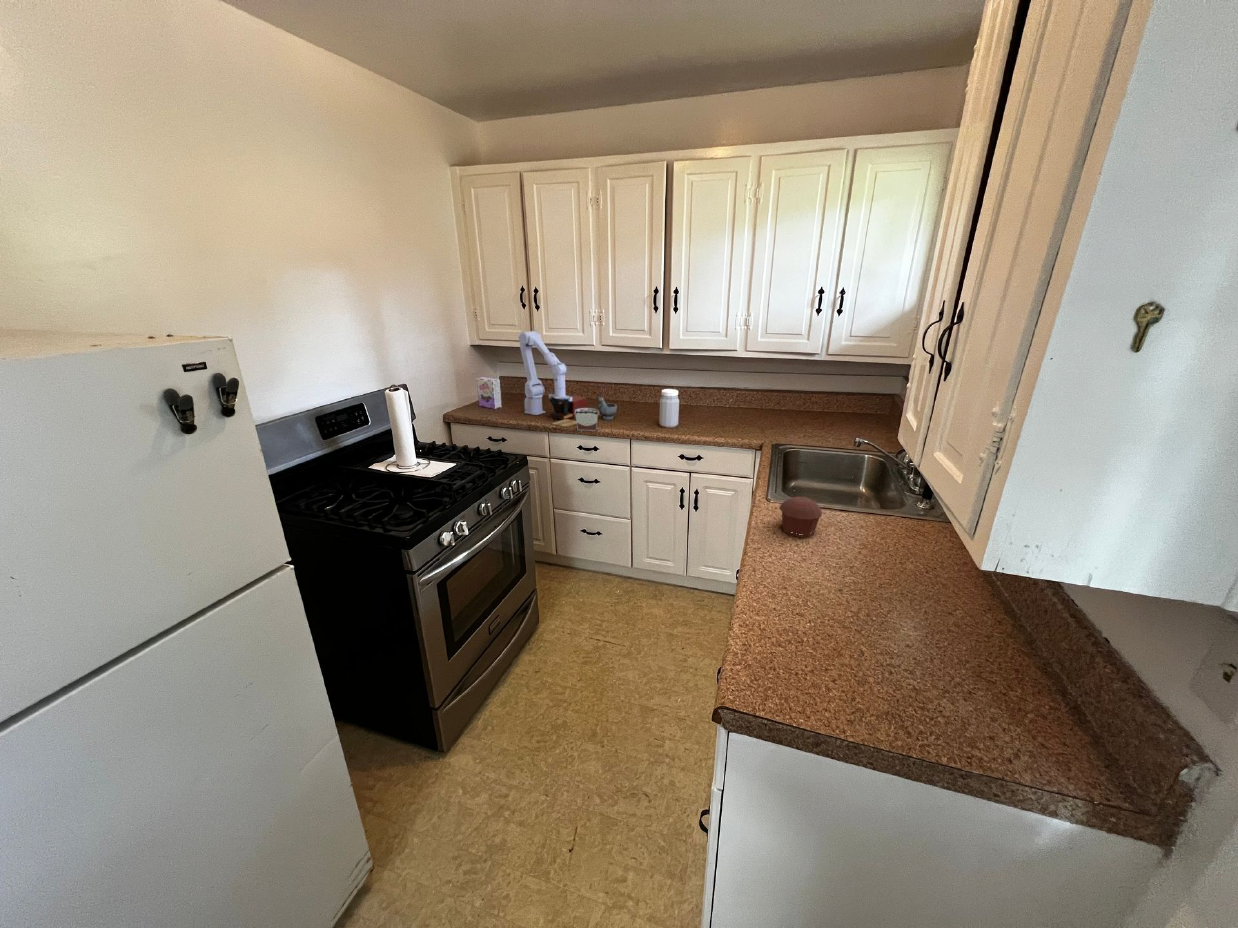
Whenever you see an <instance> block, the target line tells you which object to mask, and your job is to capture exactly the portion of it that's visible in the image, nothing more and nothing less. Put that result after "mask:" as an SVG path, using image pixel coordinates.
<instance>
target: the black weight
mask: <svg viewBox="0 0 1238 928" xmlns="http://www.w3.org/2000/svg"><path fill="white" fill-rule="evenodd" d="M554 412H555V413H560V414H564V412H563V405H562V402H557V403H555V411H554ZM566 415H567V414H564V416H566Z"/></svg>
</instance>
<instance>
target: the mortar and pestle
mask: <svg viewBox="0 0 1238 928" xmlns="http://www.w3.org/2000/svg"><path fill="white" fill-rule="evenodd" d="M598 401H599V405H598V411H599V415H601V419H603V420H606V421H607V420H613V419H614V415H616V412H617V409H618V405H617V404H615V403H611V402H608V403H606V401H605V398H604V397H602V396H601V397H599V398H598Z"/></svg>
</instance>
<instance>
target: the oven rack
mask: <svg viewBox="0 0 1238 928" xmlns="http://www.w3.org/2000/svg"><path fill="white" fill-rule="evenodd" d="M549 414H550V415H549V416H550V418H553V419H558V420H563V419H569V417H572V416H573V413H570V412H567V415H566V416H564V414H560V413H555V411H550V413H549Z"/></svg>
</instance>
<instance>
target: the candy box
mask: <svg viewBox="0 0 1238 928" xmlns="http://www.w3.org/2000/svg"><path fill="white" fill-rule="evenodd" d="M475 379H476V380H475V381H476V389H477V399H478V406H479V407H483V408H487V409H493V410H497V409H501V408H503V405H502V394H501V393H502V391H501V380H500V379H498V378H491V377H487V376H486V377H485V376H481V377H476V378H475Z"/></svg>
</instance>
